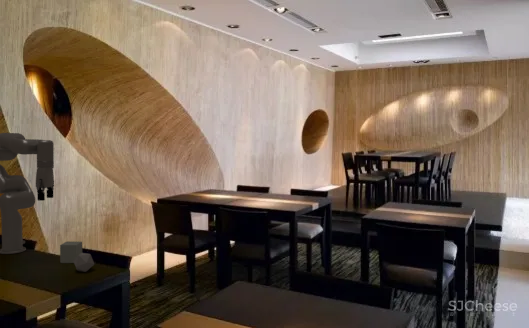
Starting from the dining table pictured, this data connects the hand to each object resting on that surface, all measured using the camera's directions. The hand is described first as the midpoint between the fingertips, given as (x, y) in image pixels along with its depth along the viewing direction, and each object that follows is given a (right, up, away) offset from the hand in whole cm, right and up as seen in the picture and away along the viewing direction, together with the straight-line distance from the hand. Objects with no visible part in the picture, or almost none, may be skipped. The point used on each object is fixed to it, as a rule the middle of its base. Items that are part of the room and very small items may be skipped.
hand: (45, 199), depth 220 cm
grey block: (+14, -31, -2) cm, 33 cm away
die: (+26, -32, -17) cm, 45 cm away
